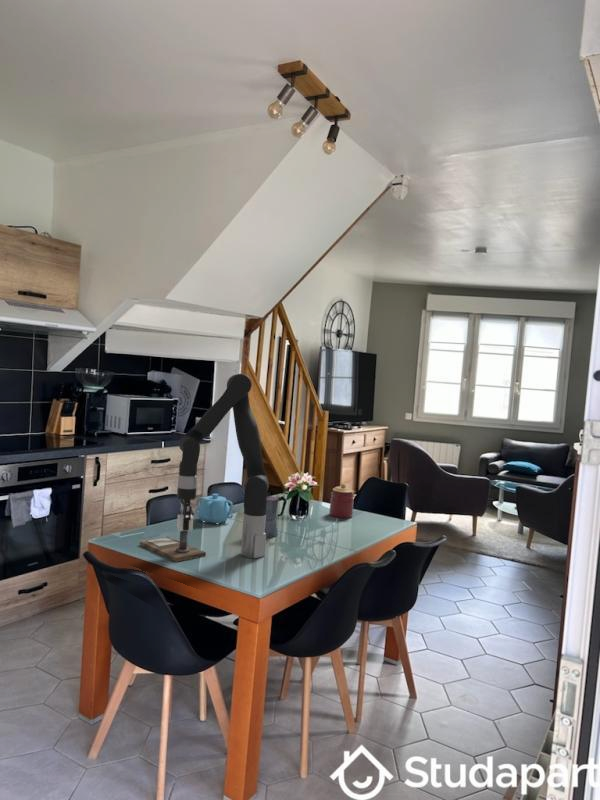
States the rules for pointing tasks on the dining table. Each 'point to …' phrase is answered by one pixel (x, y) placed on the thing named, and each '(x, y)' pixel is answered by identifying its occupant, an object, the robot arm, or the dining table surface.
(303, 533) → the dining table surface
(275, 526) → the moka pot
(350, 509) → the canister
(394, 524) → the dining table surface
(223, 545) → the dining table surface
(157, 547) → the post board
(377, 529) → the dining table surface
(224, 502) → the decorative pot
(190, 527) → the white cube
